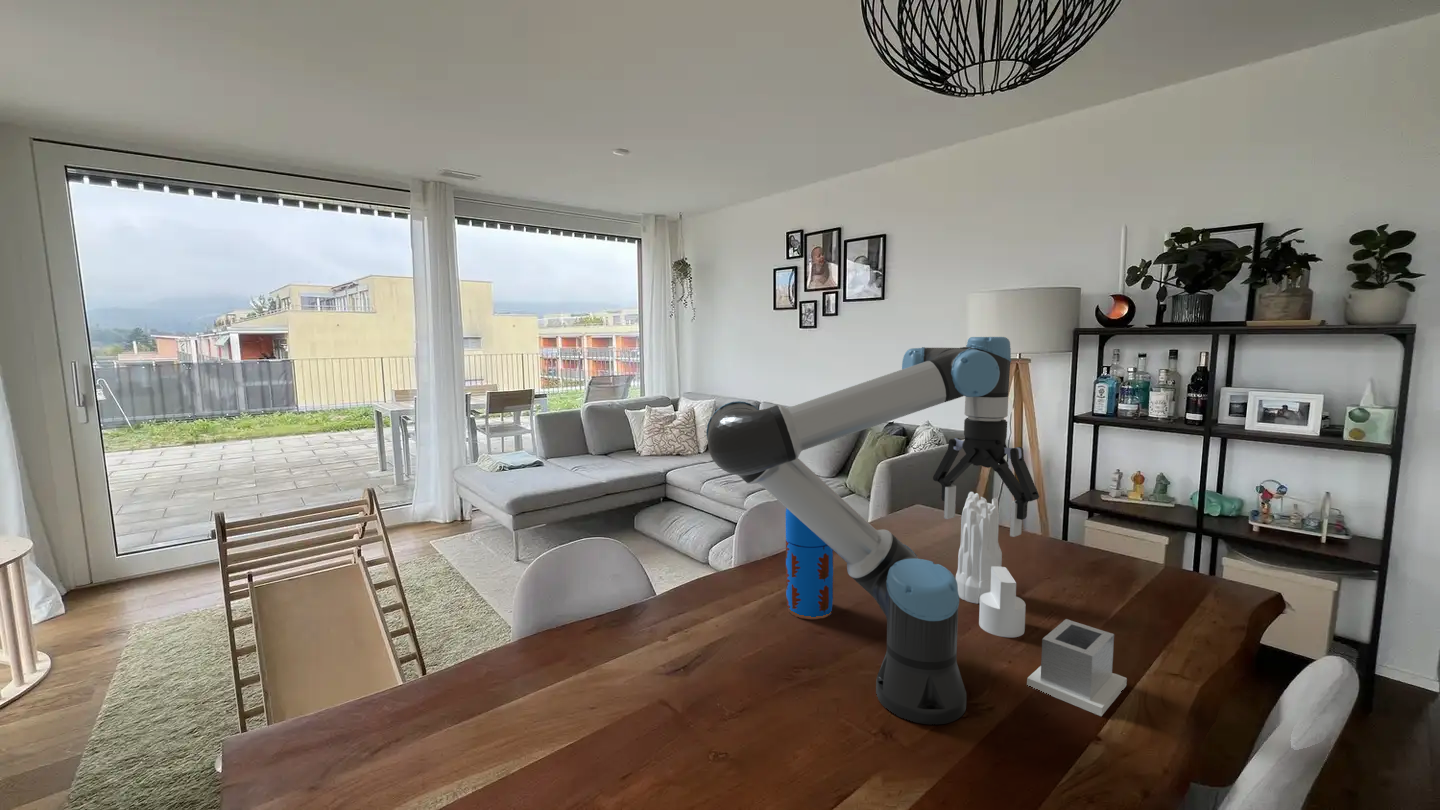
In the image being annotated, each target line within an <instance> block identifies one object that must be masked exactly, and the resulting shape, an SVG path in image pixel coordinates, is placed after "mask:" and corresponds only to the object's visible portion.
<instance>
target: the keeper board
mask: <svg viewBox="0 0 1440 810" xmlns="http://www.w3.org/2000/svg"><path fill="white" fill-rule="evenodd" d="M1040 680H1041V665H1040V666H1038V668H1037V669H1036V670H1034V671H1033V672H1032V673H1031V674H1030V675H1029V676H1028V677H1027V678H1026V686H1027V685H1028V686H1027V687H1029V686H1031V687H1033V688H1032V689H1034V688H1035V689H1034V690H1036V689H1038V690H1040V691H1039V692H1041V691H1042V692H1041V693H1043V692H1044V693H1043V694H1046V693H1047V694H1046V695H1048V694H1049V695H1048V696H1050V695H1051V697H1053V698H1055V699H1058V700H1060V701H1063V702H1065V703H1068V704H1070V705H1073V706H1075V707H1078V708H1080V709H1082V710H1084V711H1087V712H1090V713H1092V714H1094V715H1097V716H1099V717H1102V716H1103V715H1104V714H1105V713H1106V711H1107V710H1108V709H1109V708H1110V706H1112V704H1113V703H1114V702H1115V701H1116V699H1117V698H1118V697H1119V695H1120V694H1121V693H1122V692H1123V691H1124V689H1125V688H1126V687H1127V681H1128V679H1127V677H1125V676H1123V675H1120V674H1118V673H1113V672H1112V676H1111V677H1110V678H1109V680H1108V681H1107V682H1106V683H1105V684H1104V685H1103V686H1102V688H1101V689H1100V690H1099V691H1098V692H1097V693H1096V694H1095V696H1094V697H1093V698H1092V699H1091V700H1087V699H1085V698H1082V697H1080V696H1077V695H1075V694H1072V693H1070V692H1067V691H1065V690H1062V689H1060V688H1057V687H1055V686H1052V685H1049V684H1047V683H1044V682H1042V681H1040ZM1031 687H1030V688H1031ZM1038 690H1037V691H1038ZM1122 690H1123V691H1122ZM1121 691H1122V692H1121Z"/></svg>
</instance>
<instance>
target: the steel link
mask: <svg viewBox="0 0 1440 810" xmlns="http://www.w3.org/2000/svg"><path fill="white" fill-rule="evenodd" d="M1114 641H1115V633H1112V632H1109V631H1105V630H1103V629H1099V628H1095V627H1092V626H1090V625H1086V624H1083V623H1079V622H1076V621H1073V620H1070V619H1068V618H1065V619H1063V621H1062V622H1060V623H1059V624H1058V625H1057V626H1056V627H1055V628H1053V629H1052V630H1051V631H1050V632H1049V633H1048V634H1046V635H1045V636H1044V637H1043V638H1041V662H1040V663H1041V664H1040V666H1041V680H1040V681H1042V682H1044V683H1047V684H1049V685H1052V686H1055V687H1057V688H1060V689H1062V690H1065V691H1067V692H1070V693H1072V694H1075V695H1077V696H1080V697H1082V698H1085V699H1087V700H1091V699H1092V698H1093V697H1094V696H1095V694H1096V693H1097V692H1098V691H1099V690H1100V689H1101V688H1102V686H1103V685H1104V684H1105V683H1106V682H1107V681H1108V680H1109V678H1110V677H1111V676H1112V673H1113V662H1114Z"/></svg>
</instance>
